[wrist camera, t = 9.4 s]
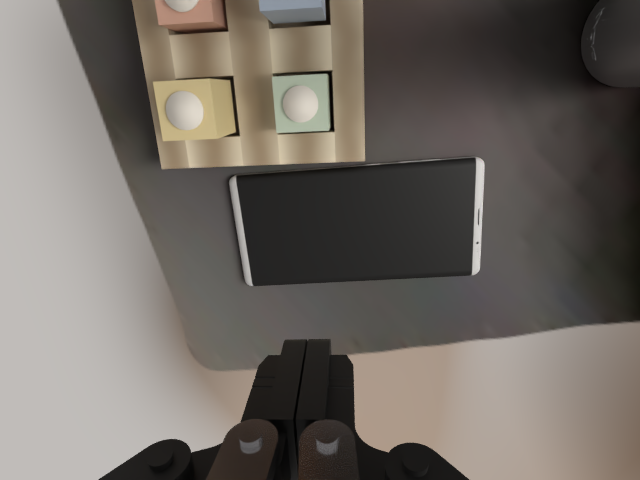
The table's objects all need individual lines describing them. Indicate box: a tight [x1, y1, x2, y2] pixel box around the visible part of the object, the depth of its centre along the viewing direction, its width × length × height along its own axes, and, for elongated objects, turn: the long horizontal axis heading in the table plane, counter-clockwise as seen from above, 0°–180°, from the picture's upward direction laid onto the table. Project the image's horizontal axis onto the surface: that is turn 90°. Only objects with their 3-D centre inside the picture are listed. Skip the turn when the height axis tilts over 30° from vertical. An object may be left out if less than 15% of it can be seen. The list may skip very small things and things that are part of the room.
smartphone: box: [229, 156, 484, 286], centre depth 46 cm, size 13×27×2 cm, turn 95°
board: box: [132, 0, 365, 169], centre depth 39 cm, size 20×20×4 cm
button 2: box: [153, 79, 236, 141], centre depth 36 cm, size 5×5×6 cm
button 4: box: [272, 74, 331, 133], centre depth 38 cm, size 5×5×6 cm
